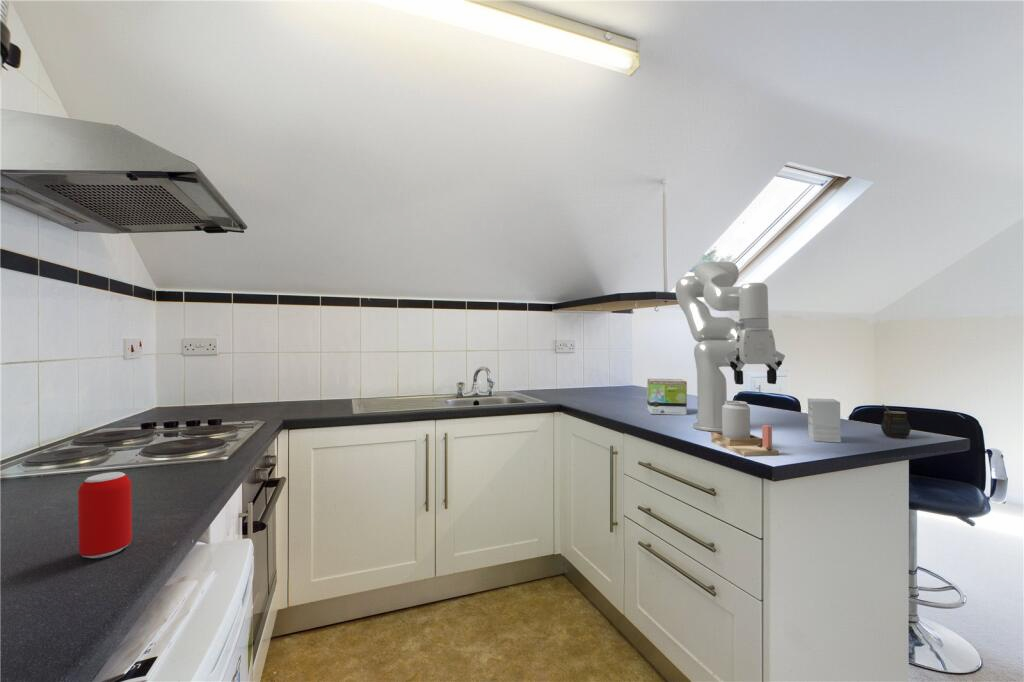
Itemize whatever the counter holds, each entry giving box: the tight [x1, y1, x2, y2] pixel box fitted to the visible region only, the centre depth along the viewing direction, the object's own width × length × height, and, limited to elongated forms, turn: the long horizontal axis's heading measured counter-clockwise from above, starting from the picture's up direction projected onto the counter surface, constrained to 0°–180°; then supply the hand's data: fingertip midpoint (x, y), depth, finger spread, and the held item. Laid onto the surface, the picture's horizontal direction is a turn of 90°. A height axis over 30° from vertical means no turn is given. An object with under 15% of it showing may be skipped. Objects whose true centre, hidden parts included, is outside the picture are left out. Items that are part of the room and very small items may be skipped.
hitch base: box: [710, 431, 780, 457], centre depth 129 cm, size 17×10×3 cm, turn 4°
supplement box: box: [807, 397, 842, 444], centre depth 138 cm, size 7×7×13 cm
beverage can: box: [77, 471, 133, 559], centre depth 69 cm, size 6×6×12 cm
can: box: [721, 400, 751, 439], centre depth 132 cm, size 8×8×12 cm
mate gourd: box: [880, 404, 912, 439], centre depth 141 cm, size 7×8×10 cm
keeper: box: [761, 424, 773, 448], centre depth 123 cm, size 2×6×1 cm
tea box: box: [646, 378, 688, 416], centre depth 191 cm, size 15×10×15 cm, turn 81°
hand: (755, 383), depth 128 cm, fingers open, 9 cm apart
